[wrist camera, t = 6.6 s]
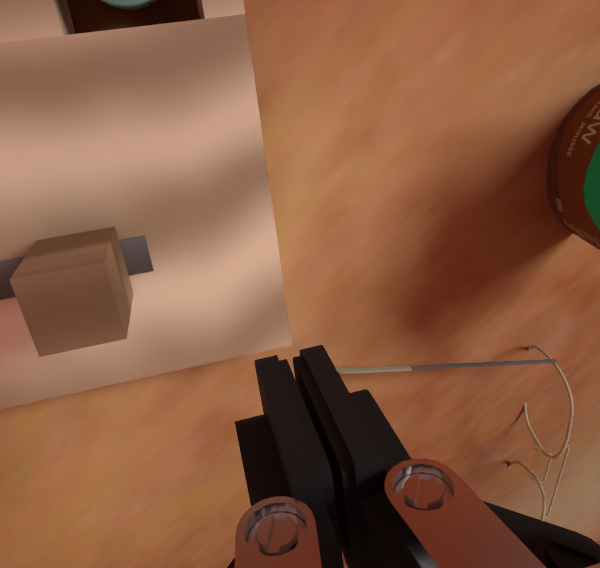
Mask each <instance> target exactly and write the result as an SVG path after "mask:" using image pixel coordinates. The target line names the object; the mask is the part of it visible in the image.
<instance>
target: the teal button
mask: <svg viewBox="0 0 600 568" xmlns="http://www.w3.org/2000/svg"><path fill="white" fill-rule="evenodd" d="M101 1H102V2H104V3H106V4H108V5H110V6H112V7H115V8H118V9H122V10H137V9H142V8H145V7H147V6H149V5H151V4H153V3H154V2H155V1H157V0H101Z"/></svg>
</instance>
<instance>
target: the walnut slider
mask: <svg viewBox="0 0 600 568" xmlns="http://www.w3.org/2000/svg"><path fill="white" fill-rule="evenodd" d="M9 280H10V283H11V286H12V288H13V291H14V293H15V296H16V298H17V301H18V304H19V306H20V309H21V311H22V314H23V316H24V319H25V322H26V324H27V327H28V329H29V332H30V334H31V337H32V340H33V342H34V345H35V347H36V350H37V352H38V355H39V357H42V356H47V355H52V354H56V353H61V352H66V351H71V350H76V349H80V348H85V347H90V346H95V345H100V344H104V343H109V342H114V341H119V340H124V339H127V334H128V327H129V321H130V314H131V307H132V300H133V289H132V286H131V282H130V279H129V275H128V271H127V268H126V264H125V261H124V257H123V254H122V250H121V246H120V243H119V239H118V236H117V232H116V228H115V227H110V228H104V229H98V230H93V231H87V232H81V233H76V234H70V235H64V236H58V237H53V238H47V239H41V240H37V241H36V242H35V244H34V245H33V247H32V248H31V249H30V251H29V252H28V254H27V255H26V256H25V258H24V259H23V261H22V262H21V264H20V265H19V266H18V268H17V269H16V271H15V272H14V274H13V275H12V276H11V278H10V279H9Z"/></svg>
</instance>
